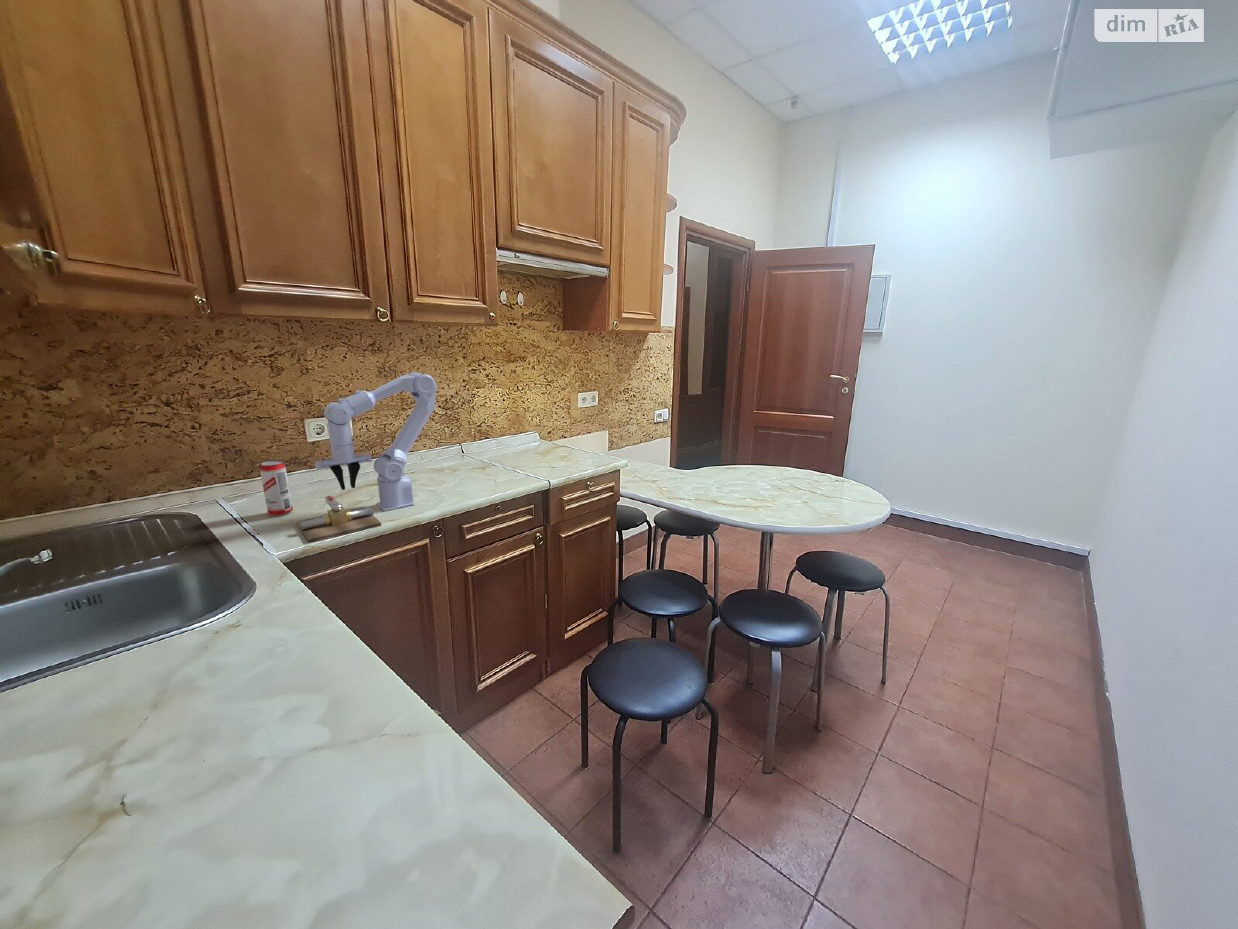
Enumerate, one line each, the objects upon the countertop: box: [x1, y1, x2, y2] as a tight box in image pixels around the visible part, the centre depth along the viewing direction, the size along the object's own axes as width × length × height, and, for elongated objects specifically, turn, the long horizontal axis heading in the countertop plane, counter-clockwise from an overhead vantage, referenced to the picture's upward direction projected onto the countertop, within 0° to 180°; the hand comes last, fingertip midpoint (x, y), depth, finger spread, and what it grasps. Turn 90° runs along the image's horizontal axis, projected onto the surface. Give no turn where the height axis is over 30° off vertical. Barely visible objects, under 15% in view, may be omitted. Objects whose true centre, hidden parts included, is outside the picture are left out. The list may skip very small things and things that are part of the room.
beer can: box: [259, 460, 294, 517], centre depth 142 cm, size 6×6×16 cm
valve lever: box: [324, 495, 343, 511], centre depth 138 cm, size 11×3×2 cm, turn 42°
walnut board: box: [296, 506, 382, 544], centre depth 136 cm, size 18×16×1 cm
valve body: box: [300, 506, 374, 530], centre depth 136 cm, size 18×4×4 cm, turn 132°
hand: (348, 488), depth 143 cm, fingers closed
